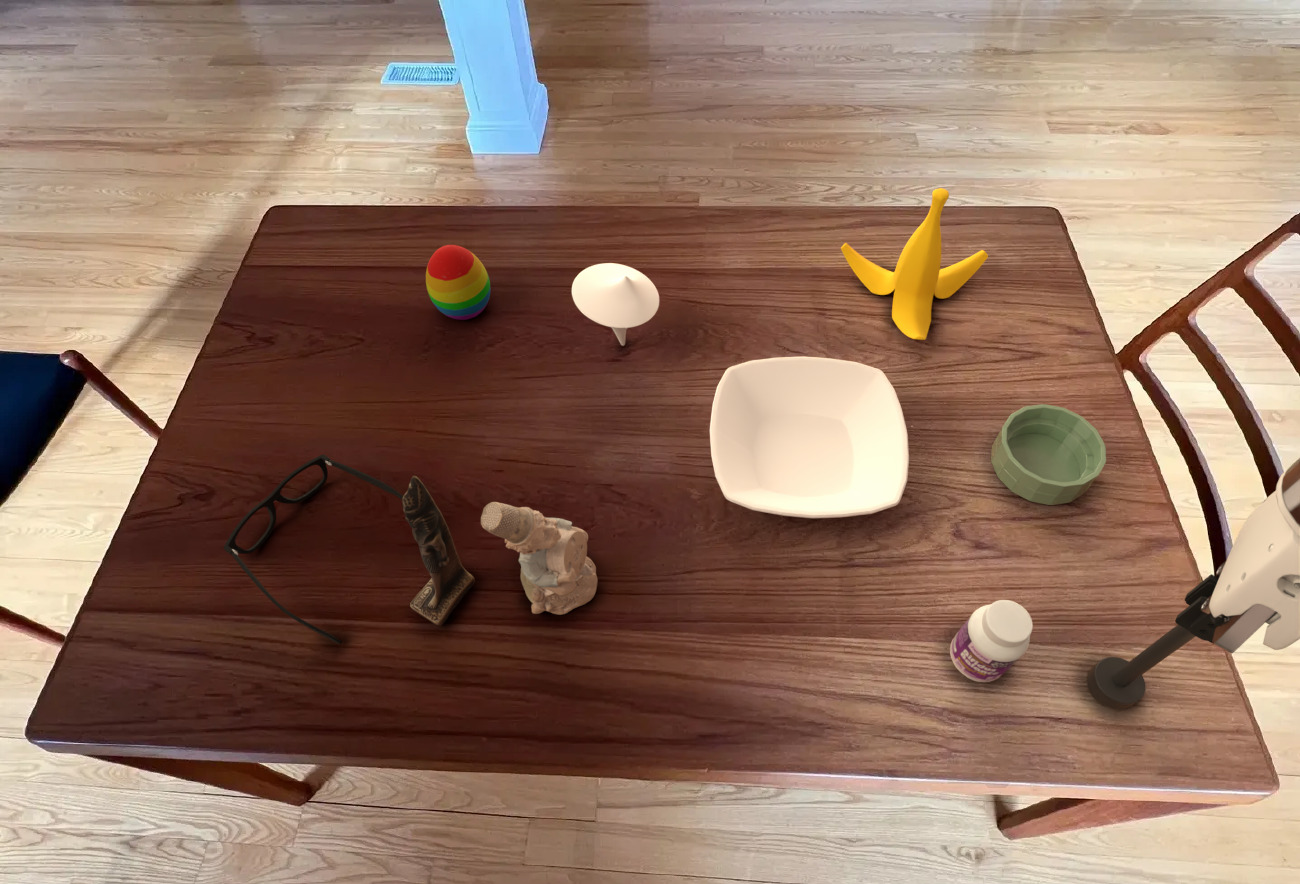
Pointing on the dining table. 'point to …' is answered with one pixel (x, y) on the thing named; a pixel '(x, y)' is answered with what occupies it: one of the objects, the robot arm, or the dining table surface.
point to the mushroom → (615, 297)
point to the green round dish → (1048, 454)
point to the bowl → (809, 438)
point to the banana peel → (917, 273)
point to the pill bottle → (991, 640)
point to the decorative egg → (457, 282)
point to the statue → (435, 556)
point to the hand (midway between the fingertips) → (1201, 619)
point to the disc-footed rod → (1131, 671)
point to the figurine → (545, 556)
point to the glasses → (269, 504)
